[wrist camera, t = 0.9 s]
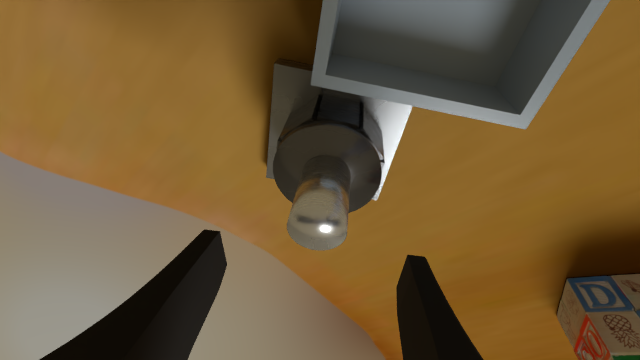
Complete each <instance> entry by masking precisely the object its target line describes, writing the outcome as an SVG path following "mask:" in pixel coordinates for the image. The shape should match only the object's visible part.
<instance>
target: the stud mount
mask: <svg viewBox="0 0 640 360" xmlns="http://www.w3.org/2000/svg"><path fill="white" fill-rule="evenodd" d="M312 71H313V65H309V64H304V63H299V62H294V61H289V60H284V59H279V58H278V59H277V61H276V62H275V63H274V74H273V89H272V103H271V117H270V132H269V146H268V160H267V175H266V178H271V179H275V178H274V175H273V160H274V157H275V154H276V151H277V141H278V139H279V136H280V134H281V132H282V130H283V128H284V125H285V123H286V121H287V119H288V117H289V116H290V113H291V112H293V111H294V110H296V109H297V108H299V107H300V106H302V105H303V104H305V103H306V102H308V101H309V100H311V99H313V98H314V97H316V96H317V95H320V96H321V98H323V94H329V95H334V96H338V97H343V98H348V99H353V100H358V101H360V106H361V105H362V104H364V105H365V106H366V108H367V109H368V111H369V112H370V114H371V115H372V117H373V118H374V120H375V122H376V123H377V125H378V126H379V128H380V129H381V131H382V137H383V149H384V161H385V164H384V166H383V169H382V178H381V183H380V186H379V189H378V191H377V193H376V194H375V196H374V197H373V198H372V199H374V200H377V199H378V197H379V194H380V191H381V189H382V186H383V183H384V181H385V178H386V175H387V173H388V170H389V167H390V165H391V162H392V159H393V157H394V154H395V151H396V149H397V146H398V143H399V141H400V138H401V135H402V133H403V130H404V127H405V125H406V122H407V119H408V117H409V114H410V111H411V109H412V106H410V105H405V104H400V103H395V102H390V101H386V100H381V99H376V98H371V97H366V96H361V95H356V94H352V93H347V92H342V91H337V90H332V89H327V88H322V87H318V86H313V85H311V78H312Z"/></svg>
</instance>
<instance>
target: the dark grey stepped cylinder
mask: <svg viewBox="0 0 640 360" xmlns="http://www.w3.org/2000/svg"><path fill="white" fill-rule="evenodd" d="M384 164H385V161H384V149H383V137H382V131H381V129H380V128H379V126H378V125H377V123H376V122H375V120H374V118H373V117H372V115H371V114H370V112H369V111H368V109H367V108H366V106H365V105H364V104H362V105H361V106H360V101H358V100H353V99H348V98H343V97H338V96H334V95H329V94H323V98H321V96H320V95H317V96H316V97H314V98H313V99H311V100H309V101H308V102H306V103H305V104H303V105H302V106H300V107H299V108H297V109H296V110H294V111H293V112H291V113H290V116H289V117H288V119H287V121H286V123H285V125H284V128H283V130H282V132H281V134H280V136H279V139H278V141H277V151H276V154H275V157H274V160H273V175H274V178H275V182H276V184H277V186H278V188H279V189H280V191H281V192H282V193H283V194H284V196H285V197H286V198H287V199H288V200H290V201H291V202H292V203H293V205H292V208H291V212H290V215H289V219H288V222H287V230H288V233H289V235H290V236H291V238H292V239H293V240H294V241H295V242H296V243H298V244H299V245H301V246H303V247H306V248H308V249H313V250H329V249H333V248H335V247H337V246H339V245H340V244H341V243H342V242H343V241H344V240H345V238H346V236H347V225H348V213H350V212H352V211H355V210H357V209H359V208H361V207H363V206H364V205H366V204H367V203H368V202H369V201H370V200H371V199H372V198H373V197H374V196H375V194H376V193H377V191H378V189H379V186H380V183H381V178H382V169H383V166H384Z"/></svg>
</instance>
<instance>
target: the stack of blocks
mask: <svg viewBox="0 0 640 360" xmlns="http://www.w3.org/2000/svg"><path fill="white" fill-rule="evenodd" d="M557 318H558V320H559V322H560V324H561V326H562V328H563V330H564V332H565V334H566V335H567V337H568V339H569V341H570V343H571V345H572V346H573V348H574V352H575V354H576V356H577V358H578V359H579V360H640V274H628V275H612V276H594V277H581V278H569V279H567V280H566V284H565V287H564V291H563V295H562V299H561V301H560V305H559V309H558V313H557Z"/></svg>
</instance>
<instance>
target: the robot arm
mask: <svg viewBox="0 0 640 360" xmlns="http://www.w3.org/2000/svg"><path fill="white" fill-rule="evenodd" d="M226 266H227V262H226V257H225V253H224V248H223V244H222V239H221V234H220V231H212V230H203V231H202V232H201V233H200V234H199V235H198V236H197V237H196V238H195V239H194V240H193V241H192V242H191V243H190V244H189V245H188V246H187V247H186V248H185V249H184V250H183V251H182V252H181V253H180V254H179V255H178V256H177V257H175V258H174V259H173V260H172V261H171V262H170V263H169V264H168V265H167V266H166V267H165V268H164V269H163V270H162V271H160V272H159V273H158V274H157V275H156V276H155V277H154V278H153V279H151V280H150V281H149V282H148V283H147V284H145V285H144V286H143V287H142V288H141V289H140V290H138V291H137V292H136V293H135V294H134V295H132V296H131V297H130V298H129V299H127V300H126V301H125V302H124V303H122V304H121V305H120V306H119V307H117V308H116V309H115V310H113V311H112V312H111V313H109V314H108V315H107V316H105V317H104V318H102V319H101V320H100V321H98V322H97V323H95V324H94V325H93V326H91V327H90V328H88V329H87V330H85V331H84V332H82V333H81V334H79V335H78V336H76V337H75V338H73V339H72V340H70V341H69V342H67V343H66V344H64V345H62V346H61V347H59V348H58V349H56V350H54V351H53V352H51V353H50V354H48V355H46V356H45V357H43V358H42V359H40V360H188V357H189V354H190V352H191V350H192V347H193V345H194V343H195V341H196V339H197V336H198V334H199V332H200V330H201V328H202V326H203V323H204V321H205V319H206V317H207V315H208V313H209V310H210V308H211V306H212V304H213V302H214V300H215V297H216V295H217V293H218V290H219V288H220V285H221V282H222V279H223V276H224V273H225V270H226ZM397 316H398V324H399V331H400V339H401V346H402V354H403V360H483V358H482V357H481V355H480V354H479V352H478V351H477V349H476V348H475V346H474V345H473V343H472V342H471V340H470V339H469V337H468V335H467V334H466V332H465V331H464V329H463V327H462V326H461V324H460V322H459V321H458V319H457V317H456V316H455V314H454V312H453V310H452V308H451V307H450V305H449V303H448V301H447V300H446V298H445V296H444V294H443V292H442V290H441V288H440V286H439V284H438V283H437V281H436V279H435V277H434V274H433V272H432V270H431V268H430V266H429V264H428V262H427V260H426V258H425V257H422V256H414V255H407V258H406V261H405V264H404V267H403V270H402V273H401V276H400V278H399V281H398V284H397Z"/></svg>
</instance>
